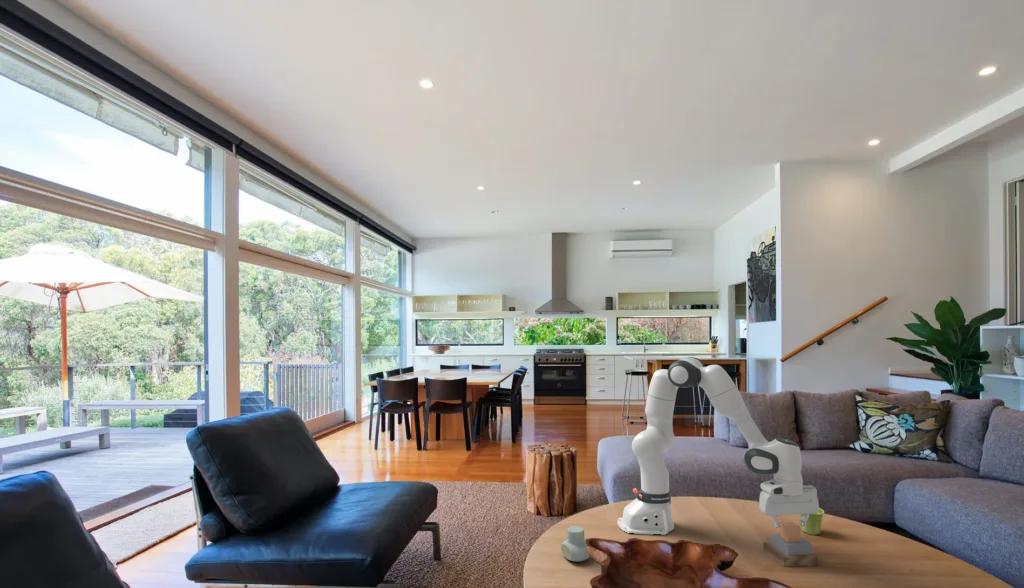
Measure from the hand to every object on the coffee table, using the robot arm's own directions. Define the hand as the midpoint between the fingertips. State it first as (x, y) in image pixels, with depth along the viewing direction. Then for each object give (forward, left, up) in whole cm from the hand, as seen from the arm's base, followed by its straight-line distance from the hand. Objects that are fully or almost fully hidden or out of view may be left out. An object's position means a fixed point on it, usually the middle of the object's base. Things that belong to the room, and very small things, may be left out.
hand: (790, 526), depth 172 cm
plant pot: (+21, +19, -11) cm, 30 cm away
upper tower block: (0, 0, -8) cm, 8 cm away
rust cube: (0, 0, -4) cm, 4 cm away
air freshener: (-75, +7, -11) cm, 76 cm away
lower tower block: (-1, 0, -11) cm, 11 cm away
